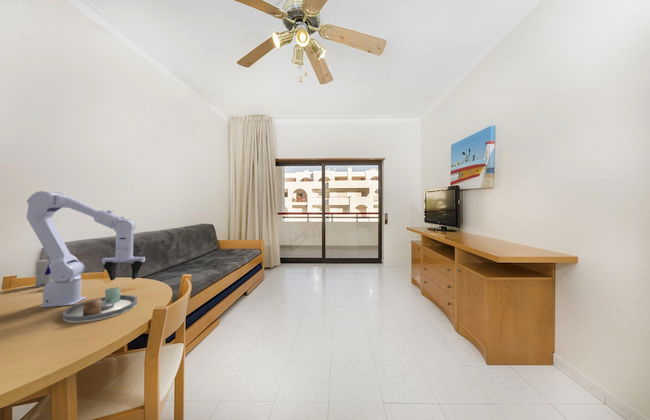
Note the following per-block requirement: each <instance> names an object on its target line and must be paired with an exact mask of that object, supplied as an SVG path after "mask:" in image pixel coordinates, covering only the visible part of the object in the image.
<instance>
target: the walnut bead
mask: <svg viewBox="0 0 650 420" xmlns="http://www.w3.org/2000/svg"><path fill="white" fill-rule="evenodd" d="M100 298H101V297H97V298H96V297H95V298H92V299H87V300H85V301H82V302H83V316H88V315H96V314H101V299H100Z"/></svg>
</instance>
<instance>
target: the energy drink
mask: <svg viewBox="0 0 650 420" xmlns="http://www.w3.org/2000/svg"><path fill="white" fill-rule="evenodd" d="M50 262H51V260H50V258H48V259H47V258H46V259H45V258H44V259H39V260H37V261H36V263H35V287H36V288H42V287H43V288H44V287H45V285H46V284H47V283H48V282H50V281H54V280H52V279H51V277H50V272H51V271H50V268H49V264H50Z"/></svg>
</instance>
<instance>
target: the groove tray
mask: <svg viewBox="0 0 650 420" xmlns="http://www.w3.org/2000/svg"><path fill="white" fill-rule="evenodd" d="M99 298H100V299H101V314H96V315H88V316H83V302H84V301H82V302H78V303H75V304H74V305H70V307H68V308H66V309H64V311H63V312H62V314H61V315H62V316H61V318H62V320H63V321H64V322H66V323H73V324H74V323H76V324H77V323H78V324H80V323H88V322H95V321H100V320H106V319H109V318H112V317H115V316H119V315H122V314H124V313H127V312H129V311H130V310H132V309H134V308H135V307H136V306H137V305H138V297H137V296H135V295H131V294H120V301H119V302H117V303H114V302H105V296H103V297H102V296H101V297H99Z"/></svg>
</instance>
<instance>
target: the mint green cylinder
mask: <svg viewBox="0 0 650 420" xmlns="http://www.w3.org/2000/svg"><path fill="white" fill-rule="evenodd" d="M120 295H121V287H110V288H106V289H105V291H104V297H105V302H114V303H117V302H119V301H120Z"/></svg>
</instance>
